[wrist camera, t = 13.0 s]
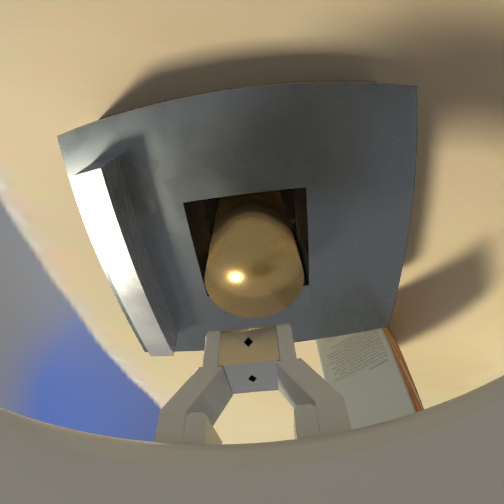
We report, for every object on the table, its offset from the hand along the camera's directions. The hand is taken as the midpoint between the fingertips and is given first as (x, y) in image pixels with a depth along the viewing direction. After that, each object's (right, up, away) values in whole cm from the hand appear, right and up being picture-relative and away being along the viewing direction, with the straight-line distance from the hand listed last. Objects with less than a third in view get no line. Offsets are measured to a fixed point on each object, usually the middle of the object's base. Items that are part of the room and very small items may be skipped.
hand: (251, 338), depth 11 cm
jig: (0, +6, +9) cm, 11 cm away
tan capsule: (0, +6, +9) cm, 11 cm away
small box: (+11, -5, +17) cm, 21 cm away
